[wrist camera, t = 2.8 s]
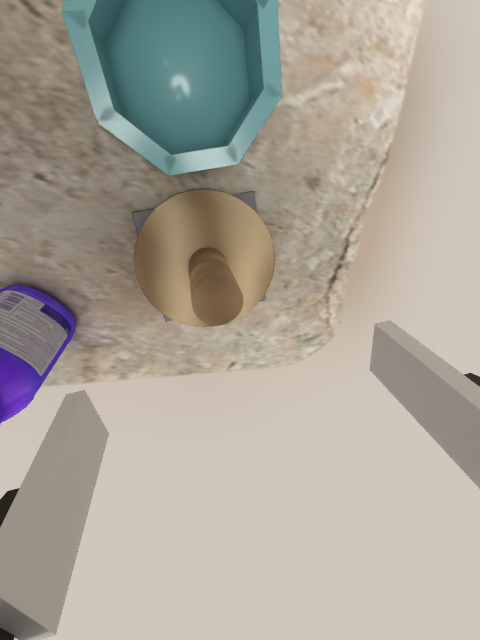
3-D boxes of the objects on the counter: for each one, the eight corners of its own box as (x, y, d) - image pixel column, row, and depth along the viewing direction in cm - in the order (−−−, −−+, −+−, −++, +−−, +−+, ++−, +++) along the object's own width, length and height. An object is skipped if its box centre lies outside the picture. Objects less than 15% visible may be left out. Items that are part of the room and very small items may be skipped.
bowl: (128, 180, 24) (117, 184, 20) (64, -32, 18) (27, -93, 14) (266, 157, 25) (285, 156, 21) (250, -49, 19) (271, -111, 15)
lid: (158, 331, 31) (151, 392, 22) (115, 203, 24) (83, 223, 16) (275, 306, 32) (308, 355, 24) (264, 177, 25) (304, 184, 17)
